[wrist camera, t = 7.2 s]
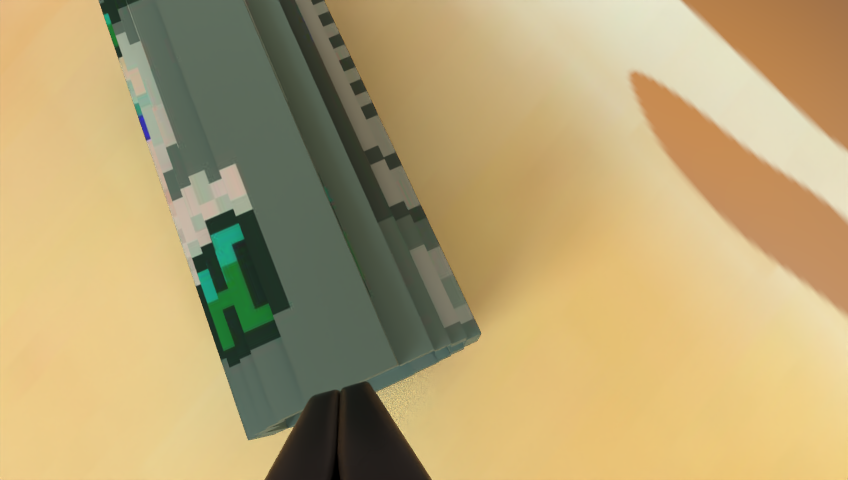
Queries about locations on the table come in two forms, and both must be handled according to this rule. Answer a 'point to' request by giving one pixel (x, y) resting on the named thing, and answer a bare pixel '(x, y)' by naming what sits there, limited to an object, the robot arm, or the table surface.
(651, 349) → the table surface
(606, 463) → the table surface
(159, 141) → the can
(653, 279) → the table surface
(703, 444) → the table surface
